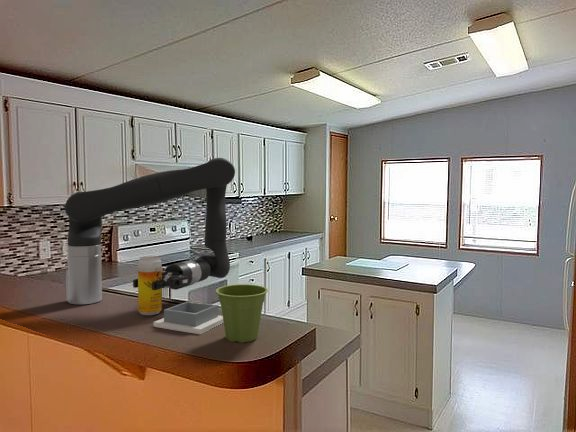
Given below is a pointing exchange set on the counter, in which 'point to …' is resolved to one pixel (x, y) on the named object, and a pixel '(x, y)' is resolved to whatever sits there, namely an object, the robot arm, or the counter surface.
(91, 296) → the robot arm
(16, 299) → the counter surface
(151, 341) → the counter surface
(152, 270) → the beer can
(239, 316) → the plant pot
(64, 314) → the counter surface
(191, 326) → the dock
